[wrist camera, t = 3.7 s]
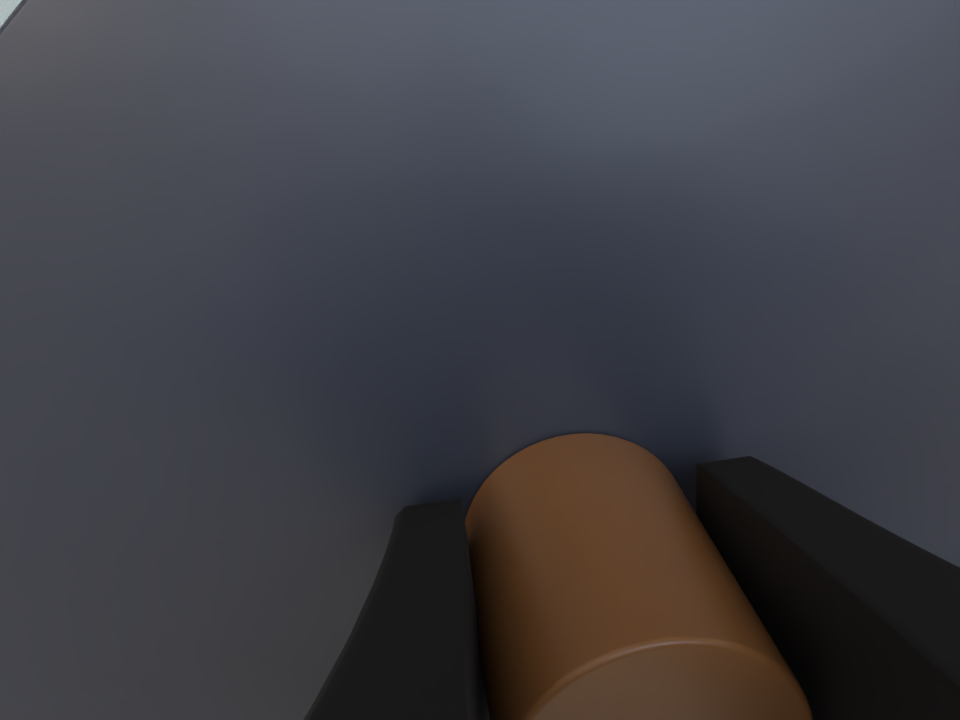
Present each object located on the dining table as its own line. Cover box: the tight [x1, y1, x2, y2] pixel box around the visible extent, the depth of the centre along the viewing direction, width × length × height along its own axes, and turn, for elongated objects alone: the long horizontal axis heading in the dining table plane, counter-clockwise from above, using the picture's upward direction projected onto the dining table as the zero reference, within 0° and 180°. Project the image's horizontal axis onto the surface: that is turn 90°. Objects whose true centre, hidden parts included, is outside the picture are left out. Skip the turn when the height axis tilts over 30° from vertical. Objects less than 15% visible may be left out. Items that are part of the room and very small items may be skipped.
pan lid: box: [0, 0, 960, 720], centre depth 9 cm, size 15×15×4 cm
